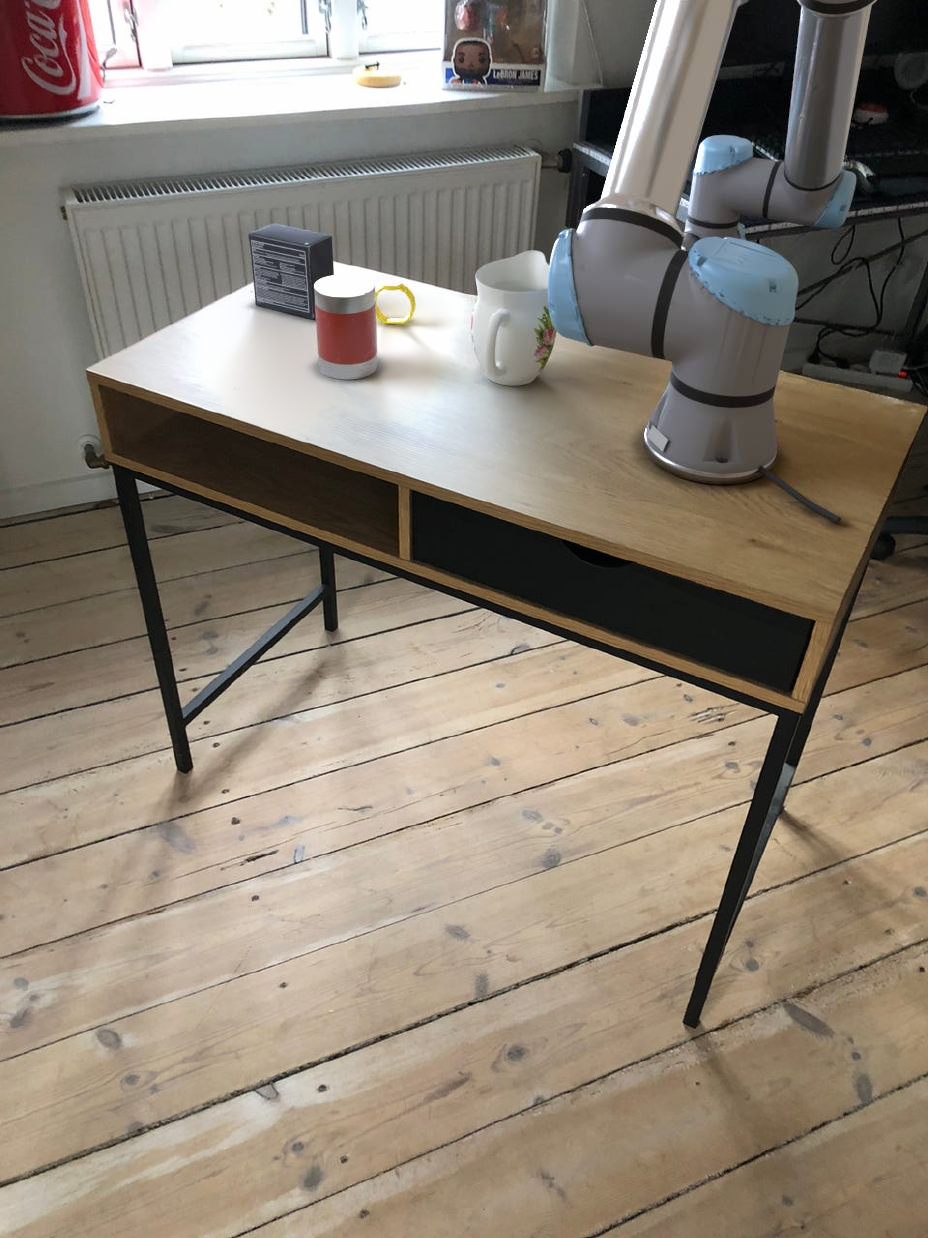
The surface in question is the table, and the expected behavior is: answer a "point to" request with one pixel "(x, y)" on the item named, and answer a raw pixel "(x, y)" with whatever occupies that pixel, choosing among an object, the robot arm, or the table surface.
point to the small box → (289, 267)
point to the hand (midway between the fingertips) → (555, 308)
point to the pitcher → (513, 318)
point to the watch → (394, 285)
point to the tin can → (346, 326)
